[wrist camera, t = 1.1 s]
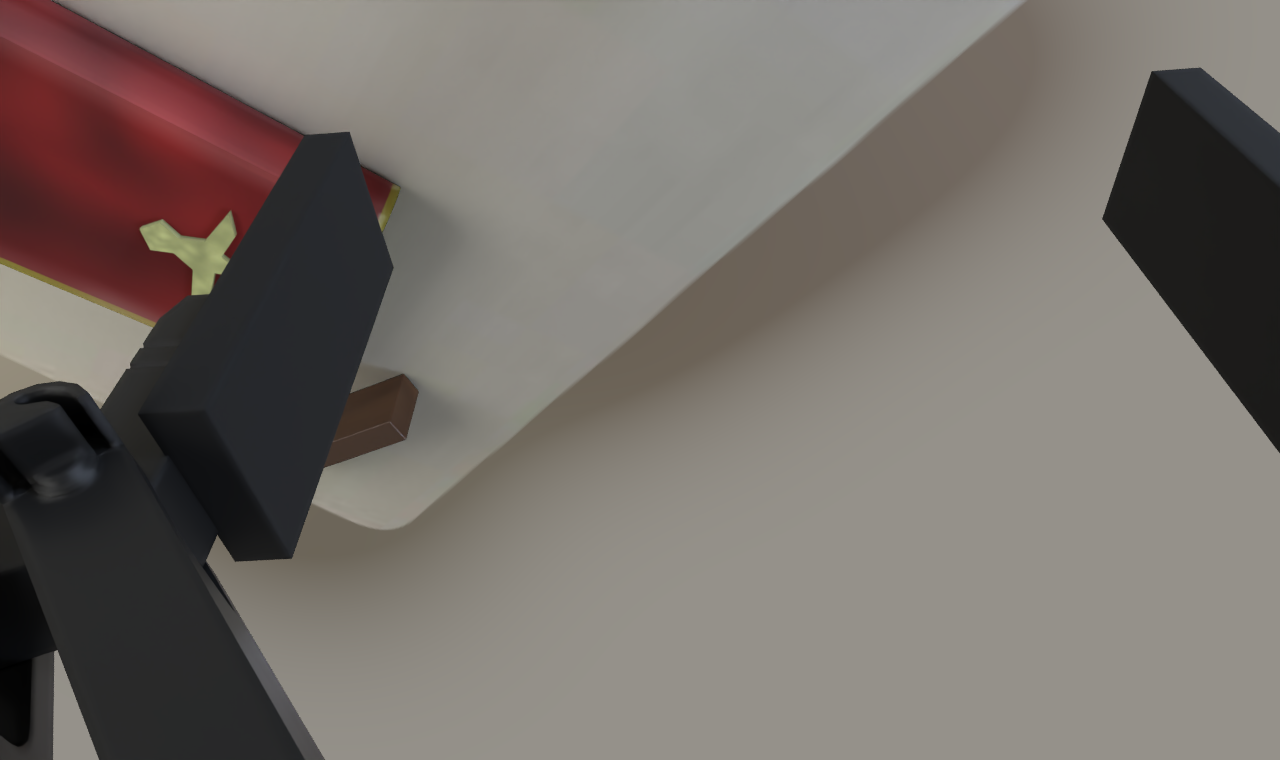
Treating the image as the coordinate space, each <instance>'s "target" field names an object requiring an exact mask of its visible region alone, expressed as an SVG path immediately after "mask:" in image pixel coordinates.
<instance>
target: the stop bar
mask: <svg viewBox="0 0 1280 760" xmlns="http://www.w3.org/2000/svg"><path fill="white" fill-rule="evenodd" d="M418 393H419V392H418V390H417V389H416V388H415V386H414V385H413V384H412V383H411V382H410V381H409V379H408V378H407V377H406V376H405V375H404V374H402V375H399V376H397V377H394V378H391V379H389V380H386V381H383V382H380V383H378V384H375V385H372V386H370V387H367V388H364V389H362V390H359V391H356V392H353V393H351V394H349V396H348V399H347V402H346V405H345V408H344V411H343V414H342V416H341V419H340V422H339V425H338V428H337V431H336V434H335V437H334V439H333V442H332V445H331V448H330V451H329V454H328V457H327V459H326V462H325V465H324V468H325V467H328V466H331V465H334V464H336V463H339V462H342V461H345V460H348V459H351V458H354V457H357V456H360V455H363V454H365V453H368V452H371V451H374V450H377V449H380V448H383V447H386V446H389V445H392V444H394V443H397V442H400V441H403V440H405V439H406V438H407V434H408V430H409V426H410V423H411V419H412V415H413V411H414V408H415V404H416V400H417V397H418Z"/></svg>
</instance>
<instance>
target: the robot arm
mask: <svg viewBox="0 0 1280 760" xmlns="http://www.w3.org/2000/svg"><path fill="white" fill-rule="evenodd" d="M1102 219H1103V220H1104V222H1105V223H1106V225H1107V226H1108V227H1109V228H1110V230H1111V231H1112V233H1113V234H1114V235H1115V237H1116V238H1117V239H1118V241H1119V242H1120V243H1121V244H1122V246H1123V247H1124V248H1125V250H1126V251H1127V252H1128V254H1129V255H1130V256H1131V258H1132V259H1133V260H1134V262H1135V263H1136V264H1137V266H1138V267H1139V268H1140V270H1141V271H1142V272H1143V273H1144V275H1145V276H1146V277H1147V279H1148V280H1149V281H1150V283H1151V284H1152V285H1153V287H1154V288H1155V289H1156V291H1157V292H1158V293H1159V295H1160V296H1161V297H1162V298H1163V300H1164V301H1165V302H1166V304H1167V305H1168V306H1169V308H1170V309H1171V310H1172V312H1173V313H1174V314H1175V316H1176V317H1177V318H1178V319H1179V321H1180V322H1181V324H1182V325H1183V326H1184V328H1185V329H1186V330H1187V331H1188V333H1189V334H1190V335H1191V337H1192V338H1193V339H1194V341H1195V342H1196V343H1197V345H1198V346H1199V347H1200V349H1201V350H1202V351H1203V353H1204V354H1205V355H1206V357H1207V358H1208V359H1209V361H1210V362H1211V363H1212V364H1213V366H1214V367H1215V368H1216V370H1217V371H1218V372H1219V374H1220V375H1221V376H1222V378H1223V379H1224V380H1225V382H1226V383H1227V384H1228V386H1229V387H1230V388H1231V390H1232V391H1233V392H1234V393H1235V395H1236V396H1237V397H1238V399H1239V400H1240V401H1241V403H1242V404H1243V405H1244V406H1245V408H1246V409H1247V410H1248V412H1249V413H1250V414H1251V416H1252V417H1253V419H1254V420H1255V421H1256V422H1257V424H1258V425H1259V426H1260V428H1261V429H1262V430H1263V432H1264V433H1265V434H1266V436H1267V437H1268V438H1269V440H1270V441H1271V442H1272V444H1273V445H1274V446H1275V448H1276V449H1277V450H1278V451H1279V453H1280V133H1279V132H1278V131H1277V130H1275V129H1274V128H1273V127H1272V126H1271V125H1269V124H1268V123H1267V122H1266V121H1264V120H1263V119H1262V118H1261V117H1260V116H1258V115H1257V114H1256V113H1255V112H1254V111H1252V110H1251V109H1250V108H1249V107H1248V106H1246V105H1245V104H1244V103H1243V102H1242V101H1240V100H1239V99H1238V98H1237V97H1235V96H1234V95H1233V94H1232V93H1230V92H1229V91H1228V90H1227V89H1226V88H1225V87H1223V86H1222V85H1221V84H1220V83H1219V82H1217V81H1216V80H1215V79H1214V78H1212V77H1211V76H1210V75H1209V74H1207V73H1206V72H1205V71H1204V70H1203V69H1202V68H1189V69H1176V70H1162V71H1152V72H1151V75H1150V78H1149V81H1148V84H1147V87H1146V90H1145V93H1144V96H1143V99H1142V102H1141V105H1140V108H1139V111H1138V114H1137V117H1136V120H1135V123H1134V126H1133V129H1132V132H1131V135H1130V138H1129V141H1128V144H1127V147H1126V150H1125V153H1124V156H1123V159H1122V162H1121V164H1120V167H1119V171H1118V173H1117V177H1116V180H1115V182H1114V186H1113V188H1112V192H1111V194H1110V197H1109V201H1108V203H1107V207H1106V209H1105V213H1104V215H1103V218H1102ZM393 268H394V267H393V264H392V261H391V258H390V255H389V252H388V249H387V246H386V243H385V240H384V237H383V234H382V231H381V227H380V224H379V221H378V218H377V215H376V212H375V209H374V206H373V203H372V200H371V197H370V194H369V191H368V188H367V184H366V181H365V178H364V175H363V172H362V169H361V166H360V163H359V160H358V157H357V154H356V151H355V148H354V145H353V141H352V138H351V135H350V132H341V133H328V134H314V135H304V137H303V139H302V140H301V142H300V144H299V145H298V147H297V149H296V150H295V152H294V154H293V155H292V157H291V159H290V160H289V162H288V164H287V165H286V167H285V169H284V170H283V172H282V174H281V175H280V177H279V179H278V180H277V182H276V184H275V185H274V187H273V189H272V190H271V192H270V194H269V195H268V197H267V199H266V200H265V202H264V204H263V205H262V207H261V209H260V210H259V212H258V214H257V215H256V217H255V219H254V220H253V222H252V224H251V225H250V227H249V229H248V230H247V232H246V234H245V235H244V237H243V239H242V240H241V242H240V244H239V245H238V247H237V249H236V250H235V252H234V254H233V255H232V257H231V259H230V260H229V262H228V264H227V265H226V267H225V269H224V270H223V272H222V274H221V275H220V277H219V279H218V280H217V282H216V284H215V285H214V287H213V289H212V290H211V292H210V294H203V295H188V296H186V297H185V298H184V299H183V300H181V301H180V302H179V303H178V304H176V305H175V306H174V307H173V308H171V309H170V310H169V311H168V312H167V313H165V314H164V315H163V316H162V317H160V318H159V320H158V321H157V323H156V324H155V326H154V327H153V329H152V330H151V332H150V334H149V335H148V337H147V338H146V340H145V341H144V343H143V345H144V348H140V349H139V351H138V352H137V354H136V355H135V357H134V358H133V360H132V361H131V363H130V366H131V368H130V369H126V371H125V372H124V374H123V375H122V377H121V378H120V380H119V381H118V383H117V384H116V386H115V388H114V389H113V391H112V392H111V394H110V395H109V397H108V398H107V400H106V401H105V403H104V404H103V406H102V408H101V409H99V407H98V406H97V404H96V403H95V402H94V400H93V399H92V397H91V396H90V394H89V393H88V392H87V391H86V390H84V389H83V388H82V387H81V386H79V385H78V384H74V383H67V382H61V381H58V382H51V383H43V384H36V385H33V386H30V387H28V388H25V389H22V390H19V391H16V392H13V393H11V394H9V395H7V396H6V397H4V398H2V399H0V760H53V702H54V651H56V650H58V652H59V655H60V657H61V660H62V663H63V665H64V668H65V671H66V673H67V676H68V679H69V681H70V684H71V687H72V689H73V692H74V694H75V697H76V700H77V702H78V705H79V708H80V710H81V713H82V715H83V718H84V721H85V723H86V726H87V729H88V731H89V734H90V737H91V739H92V742H93V744H94V747H95V750H96V752H97V755H98V758H99V760H325V759H324V757H323V756H322V754H321V752H320V751H319V749H318V747H317V745H316V744H315V742H314V740H313V739H312V737H311V735H310V734H309V732H308V730H307V728H306V727H305V725H304V724H303V722H302V720H301V718H300V717H299V715H298V713H297V712H296V710H295V708H294V706H293V705H292V703H291V702H290V700H289V698H288V696H287V695H286V693H285V692H284V690H283V688H282V687H281V684H280V683H279V681H278V680H277V678H276V677H275V674H274V673H273V671H272V669H271V668H270V666H269V664H268V663H267V661H266V659H265V657H264V656H263V654H262V652H261V651H260V649H259V648H258V645H257V644H256V642H255V640H254V639H253V637H252V635H251V634H250V632H249V630H248V629H247V627H246V625H245V623H244V622H243V620H242V618H241V617H240V615H239V613H238V612H237V610H236V608H235V607H234V605H233V603H232V601H231V600H230V598H229V596H228V595H227V593H226V591H225V590H224V588H223V586H222V585H221V583H220V581H219V580H218V578H217V576H216V574H215V573H214V571H213V570H212V569H211V567H210V566H209V564H208V563H207V562H206V559H207V557H208V555H209V552H210V550H211V548H212V545H213V543H214V541H215V539H216V536H217V535H218V536H219V538H220V539H221V541H222V542H223V544H224V545H225V547H226V548H227V550H228V551H229V553H230V555H231V556H232V558H233V559H234V560H235V562H236V561H254V560H273V559H291V558H292V557H293V554H294V551H295V548H296V545H297V542H298V540H299V537H300V534H301V531H302V528H303V525H304V522H305V519H306V517H307V514H308V511H309V508H310V505H311V502H312V499H313V497H314V494H315V491H316V488H317V485H318V482H319V479H320V477H321V474H322V471H323V468H324V465H325V462H326V459H327V457H328V454H329V451H330V448H331V445H332V442H333V439H334V437H335V434H336V431H337V428H338V425H339V422H340V419H341V416H342V414H343V411H344V408H345V405H346V402H347V399H348V396H349V394H350V391H351V388H352V385H353V382H354V379H355V376H356V374H357V371H358V368H359V365H360V362H361V359H362V356H363V354H364V351H365V348H366V345H367V342H368V339H369V336H370V333H371V331H372V328H373V325H374V322H375V319H376V316H377V313H378V311H379V308H380V305H381V302H382V299H383V296H384V293H385V291H386V288H387V285H388V282H389V279H390V276H391V273H392V271H393Z"/></svg>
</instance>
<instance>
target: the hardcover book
mask: <svg viewBox="0 0 1280 760" xmlns="http://www.w3.org/2000/svg"><path fill="white" fill-rule="evenodd" d="M303 137H304V136H303V135H301V134H300V133H298V132H296V131H294V130H292V129H290V128H288V127H286V126H285V125H283V124H281V123H279V122H277V121H275V120H273V119H271V118H270V117H268V116H266V115H264V114H262V113H260V112H258V111H256V110H255V109H253V108H251V107H249V106H247V105H245V104H243V103H242V102H240V101H238V100H236V99H234V98H232V97H230V96H228V95H227V94H225V93H223V92H221V91H219V90H217V89H215V88H213V87H212V86H210V85H208V84H206V83H204V82H202V81H200V80H198V79H197V78H195V77H193V76H191V75H189V74H187V73H185V72H184V71H182V70H180V69H178V68H176V67H174V66H172V65H170V64H169V63H167V62H165V61H163V60H161V59H159V58H157V57H155V56H154V55H152V54H150V53H148V52H146V51H144V50H142V49H140V48H139V47H137V46H135V45H133V44H131V43H129V42H127V41H126V40H124V39H122V38H120V37H118V36H116V35H114V34H112V33H111V32H109V31H107V30H105V29H103V28H101V27H99V26H97V25H96V24H94V23H92V22H90V21H88V20H86V19H84V18H83V17H81V16H79V15H77V14H75V13H73V12H71V11H69V10H68V9H66V8H64V7H62V6H60V5H58V4H56V3H54V2H53V1H51V0H0V264H3V265H5V266H7V267H10V268H12V269H15V270H17V271H19V272H22V273H24V274H26V275H29V276H31V277H34V278H36V279H38V280H41V281H43V282H46V283H48V284H50V285H53V286H55V287H58V288H60V289H62V290H65V291H67V292H70V293H72V294H74V295H77V296H79V297H81V298H84V299H86V300H89V301H91V302H93V303H96V304H98V305H101V306H103V307H105V308H108V309H110V310H113V311H115V312H117V313H120V314H122V315H124V316H127V317H129V318H132V319H134V320H136V321H139V322H141V323H144V324H146V325H148V326H151V327H154V326H155V324H156V323H157V321H158V320H159V318H160V317H162V316H163V315H164V314H165V313H167V312H168V311H169V310H170V309H171V308H173V307H174V306H175V305H176V304H178V303H179V302H180V301H181V300H183V299H184V298H185V297H186V296H188V295H203V294H210V292H211V290H212V289H213V287H214V285H215V284H216V282H217V280H218V279H219V277H220V275H221V274H222V272H223V270H224V269H225V267H226V265H227V264H228V262H229V260H230V259H231V257H232V255H233V254H234V252H235V250H236V249H237V247H238V245H239V244H240V242H241V240H242V239H243V237H244V235H245V234H246V232H247V230H248V229H249V227H250V225H251V224H252V222H253V220H254V219H255V217H256V215H257V214H258V212H259V210H260V209H261V207H262V205H263V204H264V202H265V200H266V199H267V197H268V195H269V194H270V192H271V190H272V189H273V187H274V185H275V184H276V182H277V180H278V179H279V177H280V175H281V174H282V172H283V170H284V169H285V167H286V165H287V164H288V162H289V160H290V159H291V157H292V155H293V154H294V152H295V150H296V149H297V147H298V145H299V144H300V142H301V140H302V139H303ZM361 169H362V172H363V175H364V178H365V181H366V184H367V188H368V191H369V194H370V197H371V200H372V203H373V206H374V209H375V212H376V215H377V218H378V221H379V224H380V227H381V231H382V232H383V230H384V228H385V226H386V224H387V221H388V219H389V217H390V214H391V212H392V210H393V207H394V205H395V202H396V200H397V197H398V194H399V191H400V187H399V186H397V185H395V184H393V183H391V182H389V181H387V180H386V179H384V178H382V177H380V176H378V175H376V174H374V173H372V172H371V171H369V170H367V169H365V168H363V167H361Z"/></svg>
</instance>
